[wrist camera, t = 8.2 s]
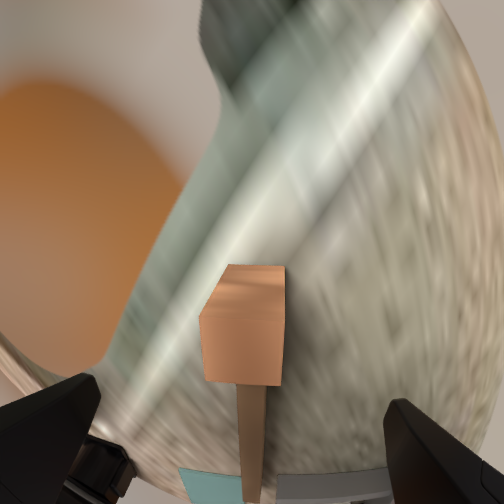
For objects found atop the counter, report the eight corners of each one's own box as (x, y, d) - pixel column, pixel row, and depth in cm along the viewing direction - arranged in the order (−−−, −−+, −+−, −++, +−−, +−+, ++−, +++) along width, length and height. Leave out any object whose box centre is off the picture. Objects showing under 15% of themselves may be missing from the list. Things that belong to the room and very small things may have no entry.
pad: (192, 500, 25) (191, 503, 25) (179, 467, 23) (178, 470, 22) (245, 508, 24) (244, 510, 24) (243, 477, 22) (243, 480, 22)
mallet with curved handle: (238, 476, 22) (229, 526, 16) (228, 264, 16) (198, 316, 10) (270, 479, 21) (265, 529, 16) (284, 266, 16) (284, 320, 10)
